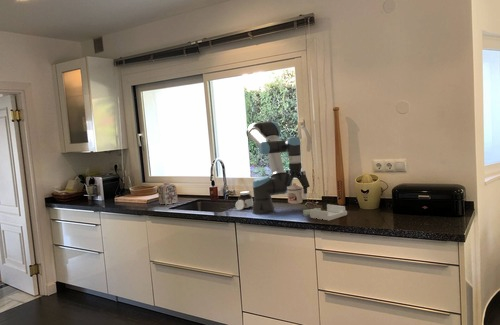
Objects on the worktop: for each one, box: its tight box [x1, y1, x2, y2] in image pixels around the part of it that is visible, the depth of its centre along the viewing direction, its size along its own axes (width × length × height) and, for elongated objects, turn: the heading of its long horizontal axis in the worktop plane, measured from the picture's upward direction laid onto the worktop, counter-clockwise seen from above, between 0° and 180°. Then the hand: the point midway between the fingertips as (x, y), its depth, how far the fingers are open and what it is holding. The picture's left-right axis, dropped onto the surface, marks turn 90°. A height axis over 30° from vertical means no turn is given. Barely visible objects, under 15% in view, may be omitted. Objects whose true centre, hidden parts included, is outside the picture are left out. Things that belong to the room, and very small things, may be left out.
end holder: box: [309, 203, 348, 222], centre depth 232 cm, size 14×17×5 cm
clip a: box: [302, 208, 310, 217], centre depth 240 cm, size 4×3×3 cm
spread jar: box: [235, 190, 254, 211], centre depth 275 cm, size 12×11×12 cm
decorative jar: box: [157, 181, 179, 205], centre depth 319 cm, size 12×12×18 cm
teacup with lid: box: [287, 182, 304, 205], centre depth 234 cm, size 12×9×12 cm
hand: (296, 197), depth 234 cm, fingers closed on teacup with lid, 12 cm apart
